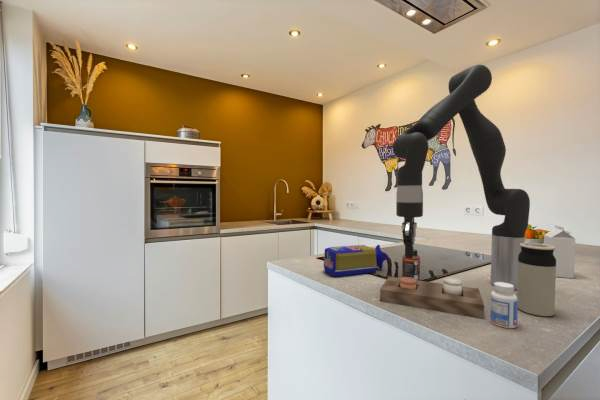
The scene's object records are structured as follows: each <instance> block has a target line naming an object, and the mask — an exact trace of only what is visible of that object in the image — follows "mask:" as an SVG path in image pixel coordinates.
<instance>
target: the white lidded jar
mask: <svg viewBox="0 0 600 400" xmlns="http://www.w3.org/2000/svg"><path fill="white" fill-rule="evenodd" d="M443 284H444V294H448V295H455V296H462V286H463V280H462V279H460V278H458V277H457V278H456V277H450V276H446V277H444V278H443Z"/></svg>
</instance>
